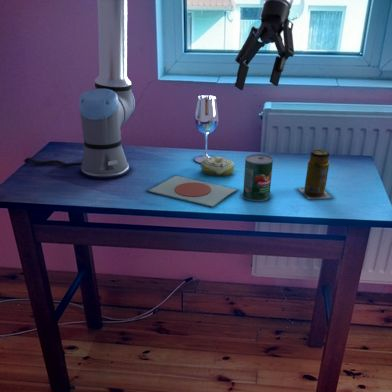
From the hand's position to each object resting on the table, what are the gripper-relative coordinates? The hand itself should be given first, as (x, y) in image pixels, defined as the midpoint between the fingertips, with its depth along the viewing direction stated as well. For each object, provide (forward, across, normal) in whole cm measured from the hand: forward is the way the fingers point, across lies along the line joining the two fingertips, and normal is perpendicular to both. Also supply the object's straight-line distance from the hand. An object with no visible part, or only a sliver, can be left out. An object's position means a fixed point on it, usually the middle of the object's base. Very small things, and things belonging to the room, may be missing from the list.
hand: (255, 86), depth 148 cm
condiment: (+22, -11, -24) cm, 35 cm away
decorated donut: (+21, +20, -12) cm, 31 cm away
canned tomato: (+28, -2, -10) cm, 30 cm away
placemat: (+31, +13, +2) cm, 33 cm away
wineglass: (+16, +31, -15) cm, 38 cm away
